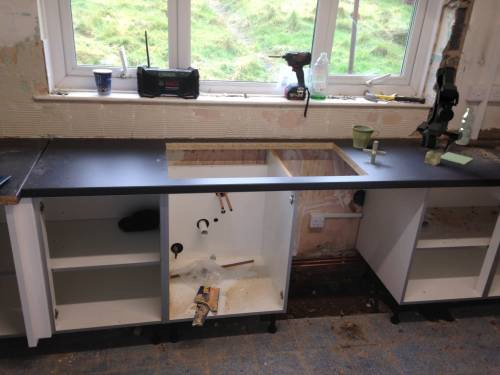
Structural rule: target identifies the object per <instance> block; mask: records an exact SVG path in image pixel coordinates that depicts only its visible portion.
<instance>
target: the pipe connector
mask: <svg viewBox="0 0 500 375" xmlns="http://www.w3.org/2000/svg"><path fill="white" fill-rule="evenodd" d="M378 144H379V141H377V140H374V141H373V146H372V149H369V148H365V149H362V153H363V154H364V153H365V154H370V155H371V157H370V163H371V164H375V162H376V156H377V155H378V156H383V157H385V156H386V154H387V152H386V151H383V150H382V151H381V150H378V146H379V145H378Z"/></svg>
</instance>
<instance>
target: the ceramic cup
mask: <svg viewBox="0 0 500 375" xmlns="http://www.w3.org/2000/svg"><path fill="white" fill-rule="evenodd" d="M375 132H377V134H376V135H375V136H373V137H372V135H373V134H374V133H375ZM379 135H380V132H379V130H377V129H374V127H372V126H369V125H366V124H355V125H353V126H352V137H353V139H352V141H353V143H352V144H353V148H355V149H360V150H363V149H368V144H369V142H371V140H373V139H374V138H376V137H377V136H379ZM371 137H372V138H371Z"/></svg>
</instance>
